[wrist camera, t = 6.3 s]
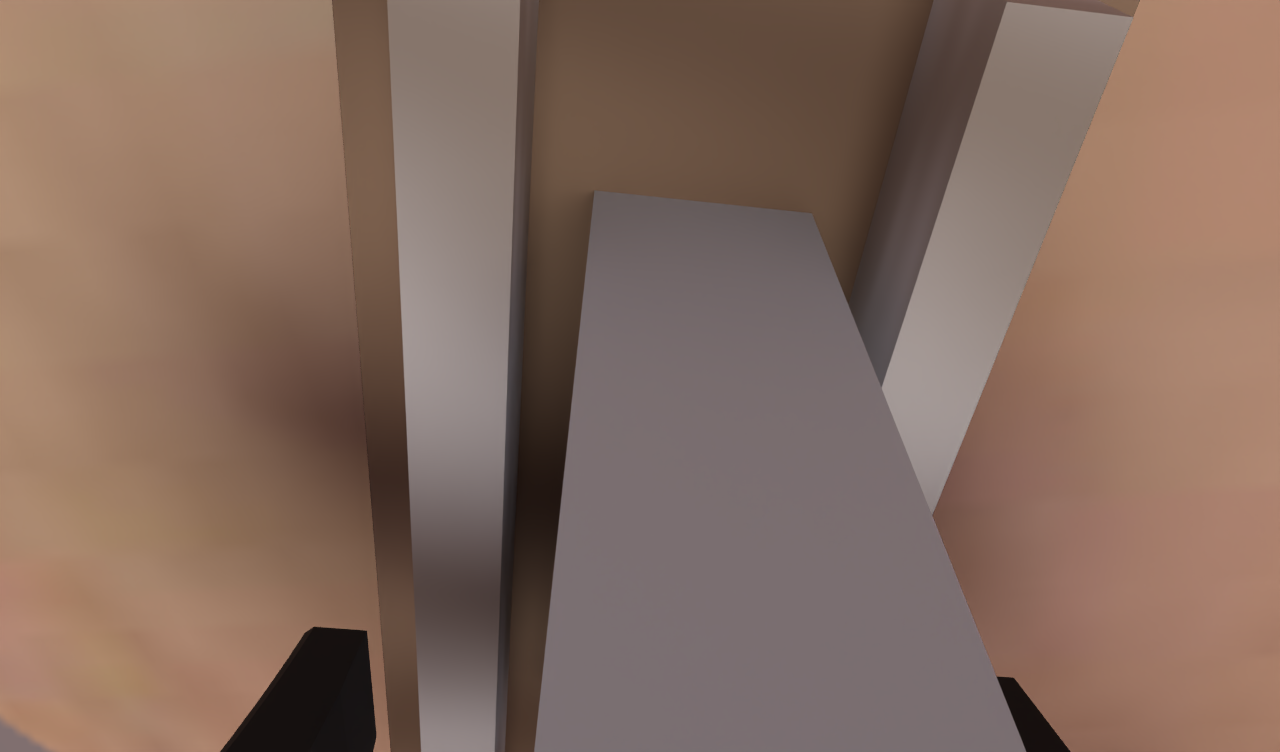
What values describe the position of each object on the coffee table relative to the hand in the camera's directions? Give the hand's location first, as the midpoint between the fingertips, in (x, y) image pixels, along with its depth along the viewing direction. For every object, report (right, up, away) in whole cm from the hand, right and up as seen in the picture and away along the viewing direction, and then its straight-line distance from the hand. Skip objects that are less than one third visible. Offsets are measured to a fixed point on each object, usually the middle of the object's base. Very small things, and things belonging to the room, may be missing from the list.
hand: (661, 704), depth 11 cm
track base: (0, +2, +5) cm, 5 cm away
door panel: (0, +2, +3) cm, 4 cm away
